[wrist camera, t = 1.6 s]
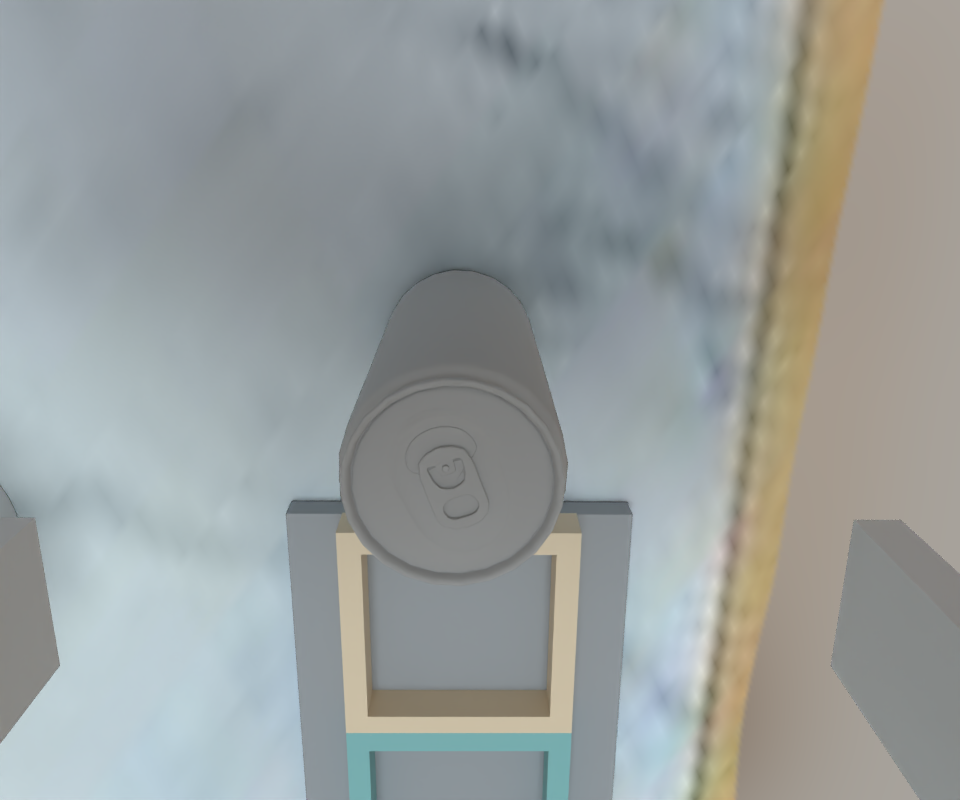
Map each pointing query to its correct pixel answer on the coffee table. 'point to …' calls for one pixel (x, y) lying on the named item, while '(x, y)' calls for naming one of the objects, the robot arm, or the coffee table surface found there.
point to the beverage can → (454, 437)
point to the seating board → (460, 666)
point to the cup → (6, 506)
